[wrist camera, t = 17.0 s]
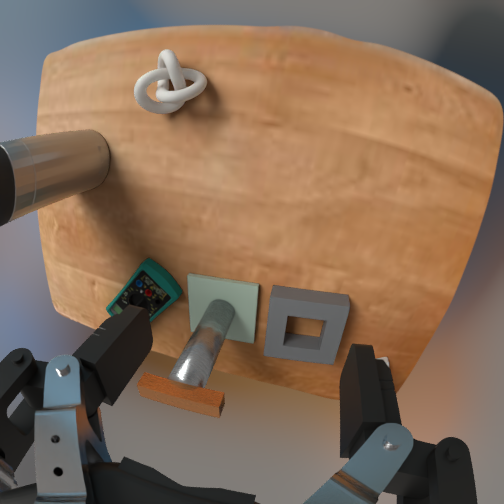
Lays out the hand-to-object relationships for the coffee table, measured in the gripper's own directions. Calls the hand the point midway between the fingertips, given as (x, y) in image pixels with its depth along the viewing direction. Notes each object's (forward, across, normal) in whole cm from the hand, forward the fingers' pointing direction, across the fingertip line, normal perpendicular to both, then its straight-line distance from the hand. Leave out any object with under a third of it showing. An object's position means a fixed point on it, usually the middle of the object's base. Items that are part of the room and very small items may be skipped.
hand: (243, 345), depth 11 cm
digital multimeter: (+27, +22, +18) cm, 39 cm away
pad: (+26, +8, +17) cm, 32 cm away
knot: (+26, +15, -13) cm, 33 cm away
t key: (+25, +8, +17) cm, 31 cm away
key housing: (+26, -4, +17) cm, 31 cm away
